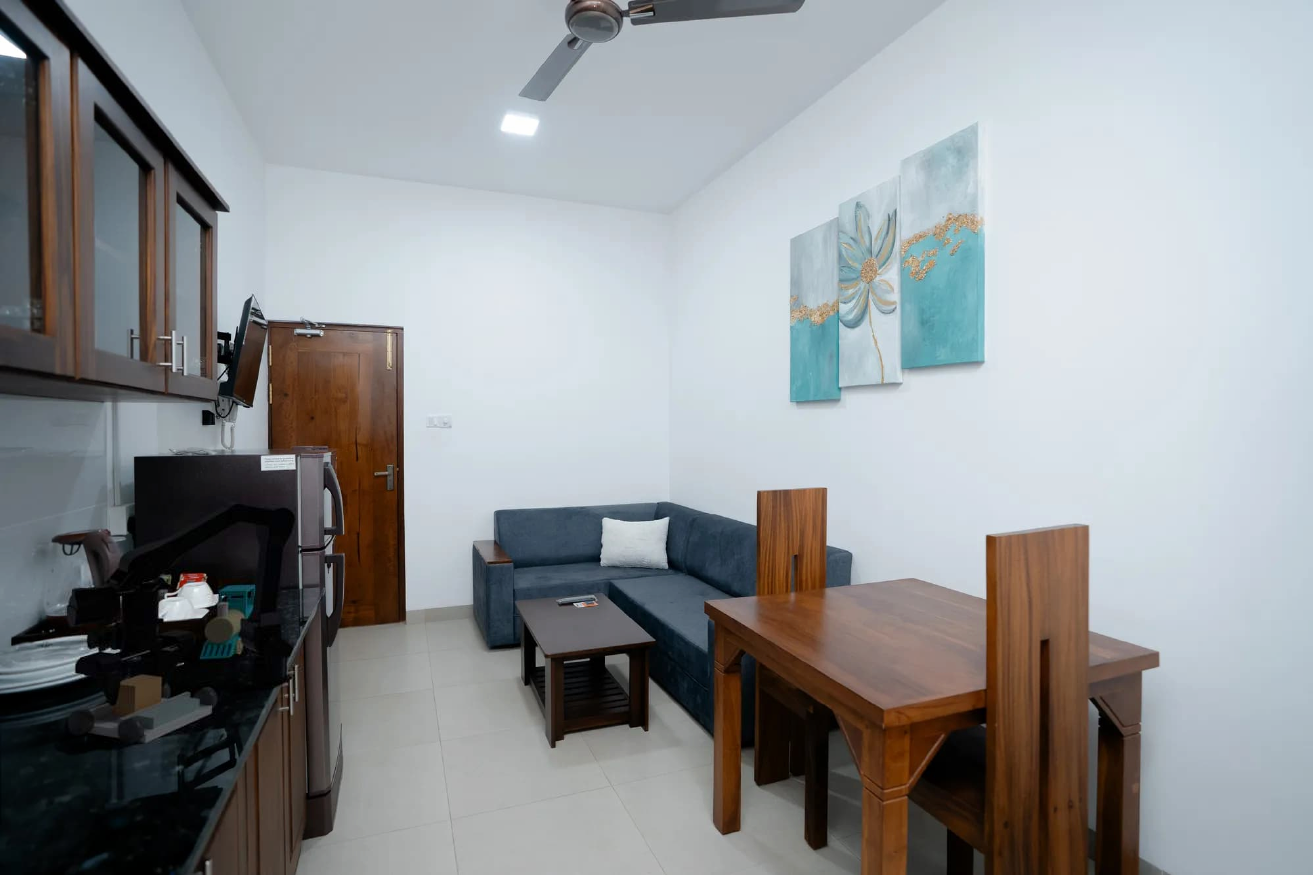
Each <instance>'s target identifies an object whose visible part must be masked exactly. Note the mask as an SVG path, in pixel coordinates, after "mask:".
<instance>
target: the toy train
mask: <svg viewBox="0 0 1313 875" xmlns="http://www.w3.org/2000/svg"><path fill="white" fill-rule="evenodd" d="M255 585H256V584H239V585H227V586H226V587H224V588H222V589H220V590H218V592H217V593H218V594H217V596H218V597H217V598H218V599H217V603H216V606H217V613H216V614H217V616H215V617H214V618H212V619H211V620H209V621H208V623H206V625H205V628H204V636H205V638H206V639H207V640H205V642H204V643H203V645H202V650H201V653H200V656H199V660H204V659H205V660H206V659H207V660H208V659H209V660H210V659H225V658H231V657H232V656H233V655H236V654H239V655H241V653H242V651H243V649H244V648H243V647H244V645H243V644H242V642H241V638H240V637H238V634H239V632H240V629H241V626H240V620H241V618H248V617H249V615H250V613H251V612H252V609H253V602H254V593H255ZM249 592H251V595H250V597H248V593H249ZM234 596H243V597H240V598H232V597H234ZM223 597H226V601H223Z"/></svg>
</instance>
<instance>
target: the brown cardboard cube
mask: <svg viewBox="0 0 1313 875" xmlns="http://www.w3.org/2000/svg"><path fill="white" fill-rule="evenodd" d="M161 683H162V677H158V675H148V674H139V675H136V676H133V677H130V678H128V679H127V678H126V679H123V680H121V683H120V689H119V695H118V699H117V702H116V705H115V708H114V715H118V716H127V715H129V714H132V713H134V712H137V711H139V710H142V709H144V708H147V707H149V706H152V705H154V704H157V703H160V702H161Z"/></svg>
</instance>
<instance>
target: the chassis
mask: <svg viewBox="0 0 1313 875" xmlns="http://www.w3.org/2000/svg"><path fill="white" fill-rule="evenodd" d="M170 696H171V687H170V685H169V683H168V682H167V683H166V685H165V686H164V687H161V702H160V703H157V704H154V705H152V706H149V707H147V708H144V709H142V710H139V711H137V712H134V713H132V714H129V715H127V716H118V715H114V708H115V705H114V706H112V705H109V703H108V702H107V703H106V702H105V703H104V704H103V703H102V704H101V705H98V706H96V707H93V708H90V709H88V708H85V707H83V708H80V709H77V710H75V711H72V712H71V713H70V714H69V715H68V717H67V727H68V729H69V732H70V733H71V734H72V735H74V736H81V735H84V734H86V733H87V734H95V735H98V736H99V735H100V736H103V737H104V736H105V737H110V738H118V739H119V740H120V742H121V743H122V744H124V745H125V746H126V745H132V744H134V743H137V742H138V743H143V744H147V743H149V742H151V741H153V740H155V739H158V738H159V737H162V736H164V735H167V734H169V733H171V732H173V731H175V730H177V729H180V728H182V727H184V726H187V725H189V724H190V723H193V722H195V721H197V720H200V719H203V718H204V717H206V716H209V715H211V714H212V711H213V708H214V707H216V705H217V702H218V695H217V692H216V691H215V690H214V689H213V688H212V687H209V686H207V687H203V688H200V689H198V690H196V691H195V693H194V695H193V697H191V691H185V692H183V693H182V692H181V693H180V694H178V695H176V696H173V697H170Z"/></svg>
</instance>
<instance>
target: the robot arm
mask: <svg viewBox="0 0 1313 875" xmlns="http://www.w3.org/2000/svg"><path fill="white" fill-rule="evenodd" d="M241 522H242V523H246V524H247V523H248V524H251V525H252V524H253V525H254V529H255V535H256V539H257V541H258V545H259V551H258V561H257V570H256V577H255V584H254V585H255V593H254V602H253V609H252V612H251V613H250V615H249V617H248V618H241V620H240V626H241V629H240V632H239V634H238V637H240V638H241V642H242V644H243V647H245V648H247V649H248V650H249V653H250V654H251V655H254V656H255V658H253V659H252V661H253V662H252V666H251V681H248V682H247V683H246V686H247V687H253V688H260V689H267V690H269V689H270V690H272V689H273V688H275V687H278V686H280V685H282V684H284V683H286V682H288V681H291V680H292V679H293V676H291V675H287V673H288V658H289V657H291V655H292V653H293V650H294V646H292V645H291V644H290V643H288V642H287V641H285V639H283V632H282V622H281V620H280V617H279V613H278V602H279V601H278V600H279V592H280V583H281V577H282V568H283V567H282V566H283V559H284V558H283V557H284V550H285V546H286V544H287V542H288V541H289V540H290V537H291V536H292V534H293V531H294V526H295V523H296V515H295V513H294V512H293V511H292V510H291V509H289V508H288V507H281V506H275V505H265V506H263V507H255V506H250V505H246V504H245V503H239V502H235V501H231V502H227V503H225V504H224V505H222V507H220V508H218V509H217V510H214V511H213V512H211V513H209V514H207V515H206V516H204V517H202V518H201V519H198V520H197V521H195V522H193V523H192V524H190V525H188V526H186V527H184V528H182V529H181V530H179V531H177V532H176V533H174V534H172V535H170V536H168V537H165V538H163V539H160V540H156V541H153V542H150V543H146V544H144V545H140V546H139V547H136V548H134V549H131V550H129V551H127V552H125V553H124V554H122V556H121V557H120V558H119V559H120V560H119V561H118V567H117V568H116V569H115V570H114V571H113V573H112V574H111V575H110V576H109V577H108V578H107V579H106V580H105V582H104V583H103V585H99V586H90V587H76V588H75V587H74V588H72V589H71V595H70V596H69V600H68V604H67V605H66V619H67V623H68V625H69V627H70V628H74V627H75V628H76V627H81V626H86V625H91V624H99V623H104V622H109V621H112V620H113V618H114V617H118V614H120V621H115V624H114V626H113V630H110V631H106V632H105V630H104V629H103V628H101V629H97V630H93V631H90V632H87V635H86V644H87V648H88V649H89V650H93V649H96V648H97V652H94V653H90V654H87V655H84V656H80V657H79V658H78V660H76V662H75V663H74V664H75V666H74V674H77V675H84V677H91V678H93V679H95V681H96V682H97V683H98V685H99V686H100V689H101V691H102V692H103V696H105V699H106V701H107V703H109V705H112V706H114V705H116V702H117V699H118V695H119V689H120V683H121V681H122V677H123V673H124V671H123V670H119V669H120V668H121V667H122V664H123V663H122V662H126V661H129V660H132V659H135V658H138V657H141V656H144V655H147V654H150V653H153V652H154V654H155V656H156V658H157V677H162V683H161V687H164V686H165V685H166V683H168V680H169V679H170V678H171V675H172V674H173V672H174V671H175V668H176V667H177V665H178V664H179V663H180V661H181V660H182V658H183V657H184V655H185V654H186V653H188V652H189V651H190V649H189V648H190V647H193V646H195V642H196V641H195V640H196V637H195V635H194V633H193V632H192V631H186V630H179V629H174V630H173V629H171V630H169V631H166V632H162V633H159V626H160V625H163V624H164V623H165V622H164V618H162V617H159V616H160V615H159V613H160V612H159V611H160V607H159V606H160V591H165V590H171V589H172V588H173V584H171V583H168V582H167V581H166V580H165V579H164V577H161V576H162V575H163V574H165V572H167V571H168V570H170V568H172V567H174V565H175V564H176V562H177V561H178V560H179V559H180V558H181V557H182V556H184V554H186V553H188V552H190V551H191V550H193V549H195V548H196V547H198V546H200V545H202V544H203V543H205V542H207V541H208V540H210V539H211V538H215V537H216V536H217V535H219V534H220V533H222V532H224V531H226V530H227V529H229V528H231V527H233V526H234V525H236V524H238V523H241ZM108 649H110V650H111V651H118V652H113V653H112V652H106V650H108Z"/></svg>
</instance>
